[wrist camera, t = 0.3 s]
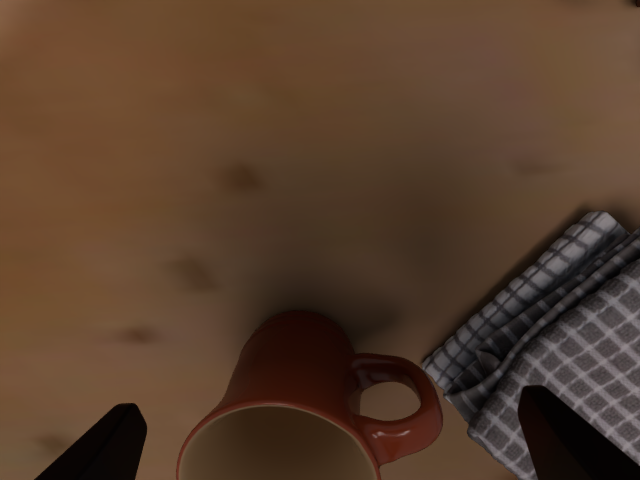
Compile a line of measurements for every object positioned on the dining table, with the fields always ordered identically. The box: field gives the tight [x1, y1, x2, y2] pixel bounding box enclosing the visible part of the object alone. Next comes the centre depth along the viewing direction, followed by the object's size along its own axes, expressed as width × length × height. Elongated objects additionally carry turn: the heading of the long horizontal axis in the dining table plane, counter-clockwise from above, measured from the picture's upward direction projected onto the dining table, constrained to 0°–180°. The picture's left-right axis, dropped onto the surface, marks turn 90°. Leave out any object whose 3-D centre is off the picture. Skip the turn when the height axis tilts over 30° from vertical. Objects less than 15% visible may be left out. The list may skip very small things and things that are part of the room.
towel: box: [422, 211, 640, 480], centre depth 22 cm, size 15×18×8 cm
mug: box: [176, 310, 443, 480], centre depth 21 cm, size 12×9×10 cm
